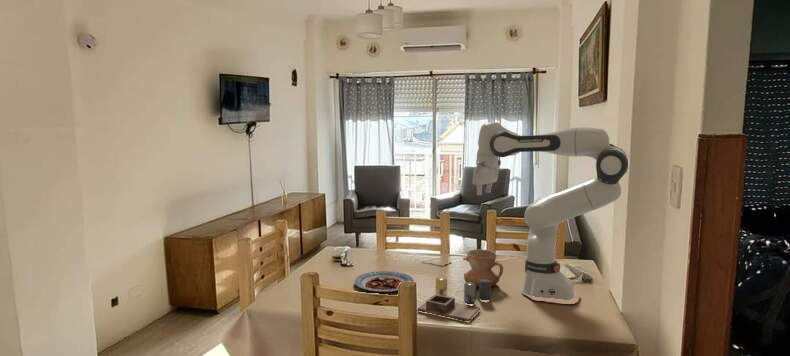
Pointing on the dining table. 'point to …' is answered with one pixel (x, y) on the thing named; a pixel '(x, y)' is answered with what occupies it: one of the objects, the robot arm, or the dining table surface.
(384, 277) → the ceramic plate
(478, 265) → the ceramic jug
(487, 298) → the grey rounded cylinder
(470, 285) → the dark steel roller
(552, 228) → the robot arm
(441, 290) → the translucent yellow cylinder
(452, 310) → the socket board
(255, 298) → the dining table surface
